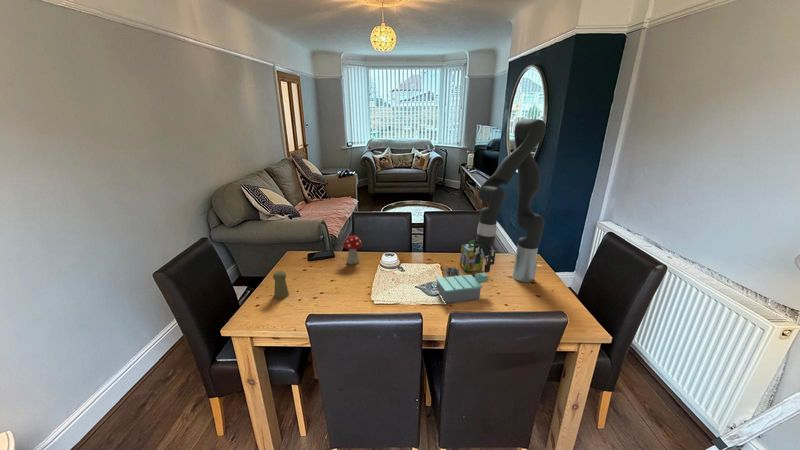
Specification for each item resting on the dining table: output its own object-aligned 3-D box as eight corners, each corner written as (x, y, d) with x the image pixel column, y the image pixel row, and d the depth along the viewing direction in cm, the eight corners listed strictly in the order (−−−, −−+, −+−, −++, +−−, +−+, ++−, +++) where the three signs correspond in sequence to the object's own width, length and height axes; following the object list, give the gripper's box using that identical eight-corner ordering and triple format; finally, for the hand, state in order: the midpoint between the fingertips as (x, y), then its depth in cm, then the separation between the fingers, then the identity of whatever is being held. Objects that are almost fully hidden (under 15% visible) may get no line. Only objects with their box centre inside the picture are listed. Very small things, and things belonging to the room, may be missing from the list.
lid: (479, 275, 149) (480, 268, 148) (491, 286, 139) (492, 280, 138) (436, 279, 144) (436, 273, 143) (445, 292, 134) (445, 285, 133)
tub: (469, 288, 149) (470, 276, 148) (479, 299, 140) (480, 287, 138) (436, 292, 146) (437, 280, 144) (444, 304, 136) (445, 291, 134)
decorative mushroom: (359, 257, 178) (359, 232, 173) (364, 264, 171) (364, 237, 166) (341, 260, 174) (340, 234, 169) (346, 267, 167) (345, 240, 162)
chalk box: (466, 272, 165) (468, 245, 160) (459, 264, 173) (461, 238, 168) (482, 270, 167) (485, 244, 162) (475, 263, 175) (477, 237, 170)
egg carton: (460, 284, 154) (461, 276, 152) (444, 282, 155) (444, 274, 154) (460, 273, 164) (460, 266, 162) (445, 272, 165) (445, 264, 163)
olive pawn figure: (280, 300, 137) (277, 277, 133) (271, 296, 140) (268, 273, 136) (292, 294, 141) (289, 271, 138) (282, 290, 144) (280, 267, 141)
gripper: (503, 238, 131) (498, 274, 136) (486, 226, 144) (481, 260, 149) (486, 239, 129) (481, 275, 134) (470, 227, 142) (466, 261, 147)
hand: (481, 267), depth 141 cm, fingers open, 8 cm apart
